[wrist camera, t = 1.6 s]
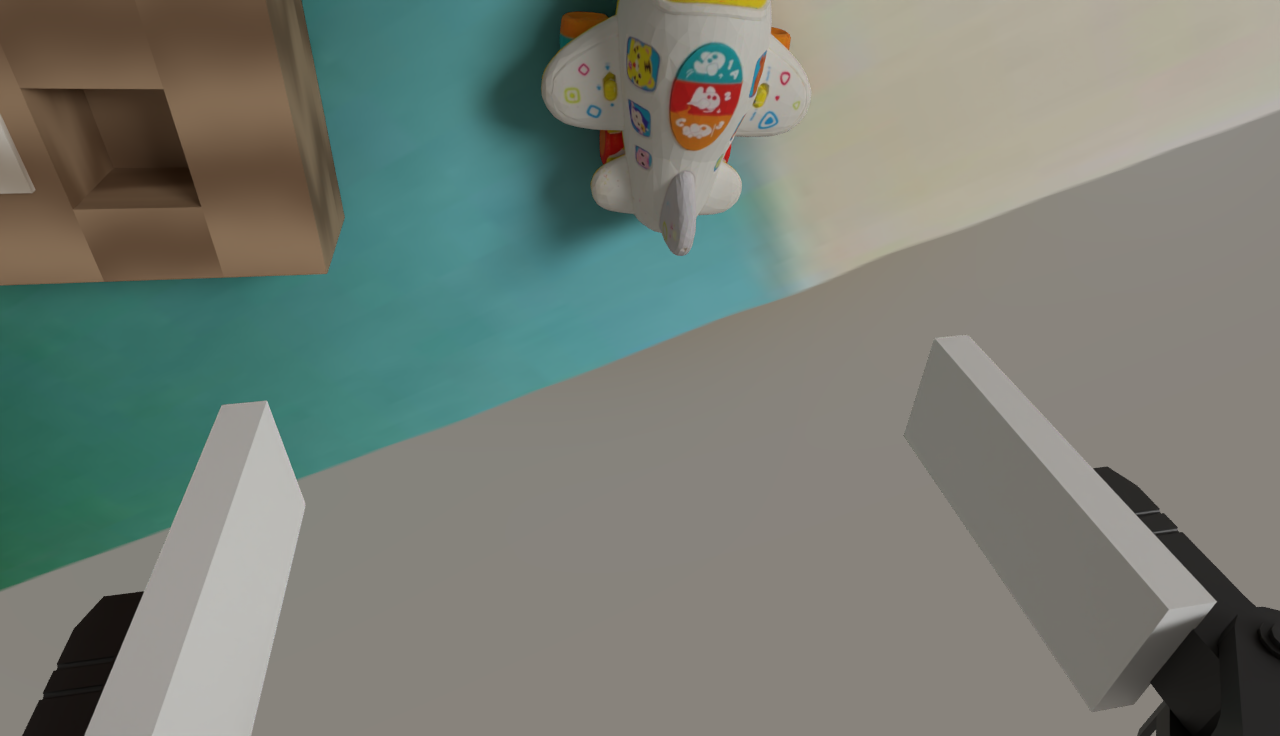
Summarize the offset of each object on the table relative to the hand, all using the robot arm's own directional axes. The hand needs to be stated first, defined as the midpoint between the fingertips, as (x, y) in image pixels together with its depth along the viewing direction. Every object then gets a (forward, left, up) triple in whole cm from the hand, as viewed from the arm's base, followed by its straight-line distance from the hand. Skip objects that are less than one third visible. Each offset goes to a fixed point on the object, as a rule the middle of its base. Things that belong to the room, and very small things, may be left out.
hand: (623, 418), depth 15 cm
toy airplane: (0, +7, -28) cm, 29 cm away
